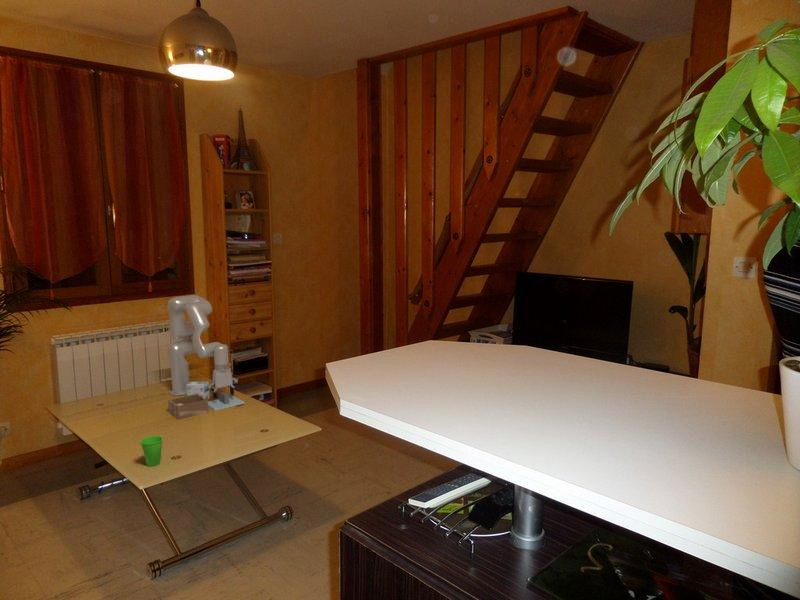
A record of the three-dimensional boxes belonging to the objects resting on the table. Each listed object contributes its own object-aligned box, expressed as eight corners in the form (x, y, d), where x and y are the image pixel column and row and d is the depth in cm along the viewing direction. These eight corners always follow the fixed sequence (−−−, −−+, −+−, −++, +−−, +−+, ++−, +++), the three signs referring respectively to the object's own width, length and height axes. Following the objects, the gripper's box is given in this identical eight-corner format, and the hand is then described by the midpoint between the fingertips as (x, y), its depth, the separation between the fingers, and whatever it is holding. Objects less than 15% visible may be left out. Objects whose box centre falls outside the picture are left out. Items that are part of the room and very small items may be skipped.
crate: (169, 414, 294) (168, 400, 293) (199, 407, 304) (198, 393, 303) (178, 421, 283) (177, 406, 282) (208, 414, 294) (207, 399, 292)
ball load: (173, 412, 294) (173, 403, 293) (183, 410, 297) (182, 401, 296) (177, 414, 290) (176, 405, 289) (186, 412, 293) (185, 403, 293)
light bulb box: (210, 399, 318) (209, 381, 316) (205, 403, 311) (203, 384, 310) (192, 399, 319) (191, 381, 317) (187, 402, 312) (185, 384, 311)
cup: (137, 466, 232) (134, 442, 230) (154, 458, 240) (152, 434, 238) (152, 470, 228) (150, 445, 227) (169, 461, 236) (167, 437, 235)
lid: (204, 406, 308) (203, 393, 306) (233, 399, 318) (232, 387, 317) (214, 412, 296) (214, 400, 295) (244, 405, 307) (243, 393, 306)
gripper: (234, 362, 312) (235, 391, 315) (203, 368, 301) (205, 398, 304) (239, 365, 307) (241, 394, 309) (209, 371, 296) (211, 401, 298)
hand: (223, 396), depth 307 cm, fingers open, 9 cm apart
